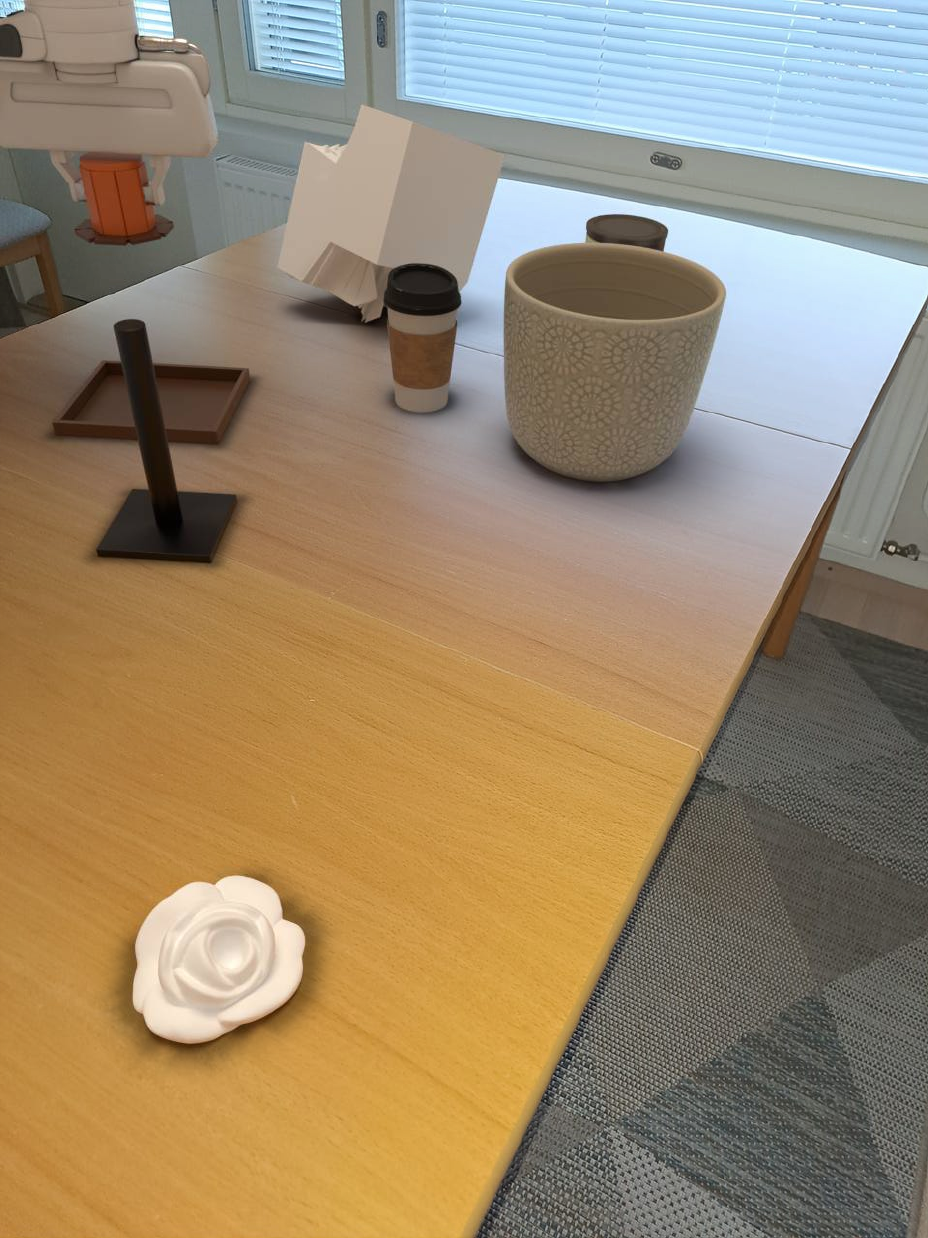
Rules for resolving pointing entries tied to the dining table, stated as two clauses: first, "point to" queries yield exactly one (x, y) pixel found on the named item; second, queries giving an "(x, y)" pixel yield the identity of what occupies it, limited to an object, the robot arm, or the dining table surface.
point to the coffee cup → (421, 333)
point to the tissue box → (386, 207)
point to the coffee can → (626, 231)
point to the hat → (118, 201)
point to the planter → (605, 355)
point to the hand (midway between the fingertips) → (119, 201)
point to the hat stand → (159, 477)
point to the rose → (215, 959)
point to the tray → (187, 396)
